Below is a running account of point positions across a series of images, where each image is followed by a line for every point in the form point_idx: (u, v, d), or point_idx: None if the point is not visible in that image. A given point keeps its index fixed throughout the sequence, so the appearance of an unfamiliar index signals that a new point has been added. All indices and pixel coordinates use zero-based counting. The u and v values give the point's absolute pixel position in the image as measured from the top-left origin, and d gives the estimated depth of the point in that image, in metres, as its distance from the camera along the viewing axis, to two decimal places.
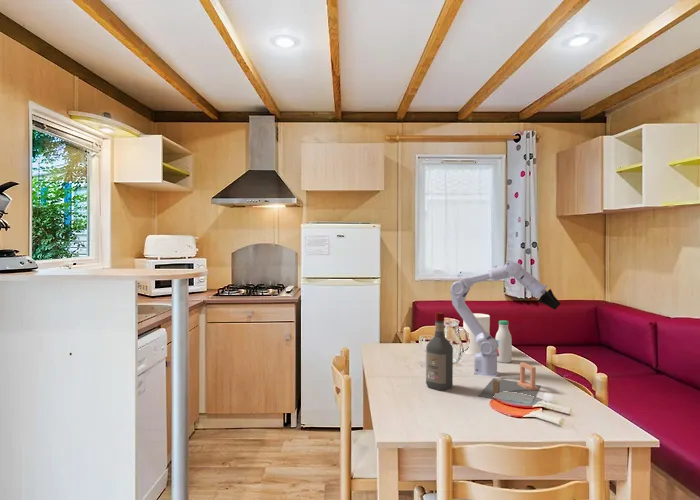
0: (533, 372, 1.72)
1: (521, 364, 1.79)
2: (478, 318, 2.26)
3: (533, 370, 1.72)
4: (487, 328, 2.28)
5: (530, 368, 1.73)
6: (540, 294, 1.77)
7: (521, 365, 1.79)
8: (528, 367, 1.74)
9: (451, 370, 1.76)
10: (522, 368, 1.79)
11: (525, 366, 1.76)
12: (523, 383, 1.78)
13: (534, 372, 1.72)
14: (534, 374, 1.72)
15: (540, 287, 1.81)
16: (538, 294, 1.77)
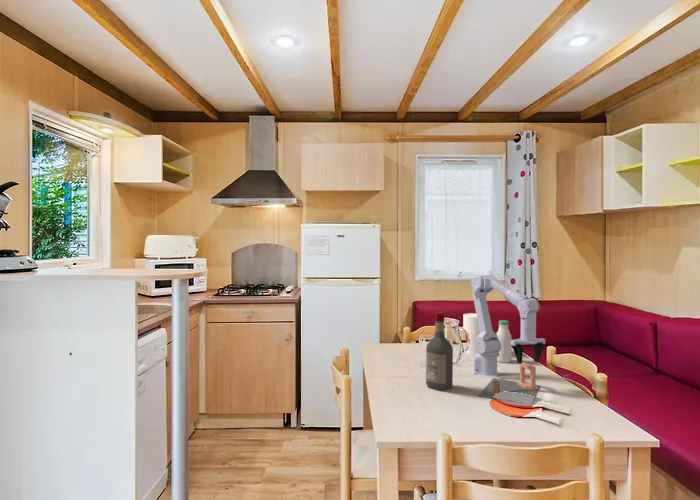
0: (533, 372, 1.72)
1: (521, 364, 1.79)
2: None
3: (533, 370, 1.72)
4: None
5: (530, 368, 1.73)
6: (512, 344, 1.74)
7: (521, 365, 1.79)
8: (528, 367, 1.74)
9: (451, 370, 1.76)
10: (522, 368, 1.79)
11: (525, 366, 1.76)
12: (523, 383, 1.78)
13: (534, 372, 1.72)
14: (534, 374, 1.72)
15: (525, 338, 1.74)
16: (512, 342, 1.74)
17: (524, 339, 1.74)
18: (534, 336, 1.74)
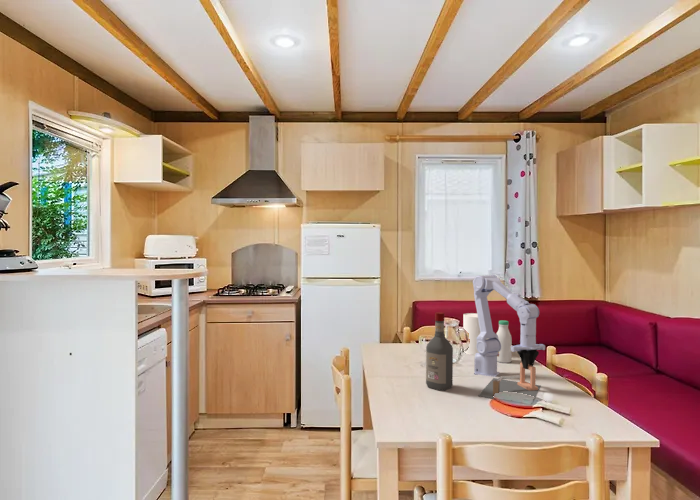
0: (533, 372, 1.72)
1: (521, 364, 1.79)
2: None
3: (533, 370, 1.72)
4: None
5: (530, 368, 1.73)
6: (512, 350, 1.74)
7: (521, 365, 1.79)
8: (528, 367, 1.74)
9: (451, 370, 1.76)
10: (522, 368, 1.79)
11: None
12: (523, 383, 1.78)
13: (534, 372, 1.72)
14: (534, 374, 1.72)
15: (525, 344, 1.74)
16: (511, 348, 1.74)
17: (524, 345, 1.74)
18: (534, 342, 1.74)
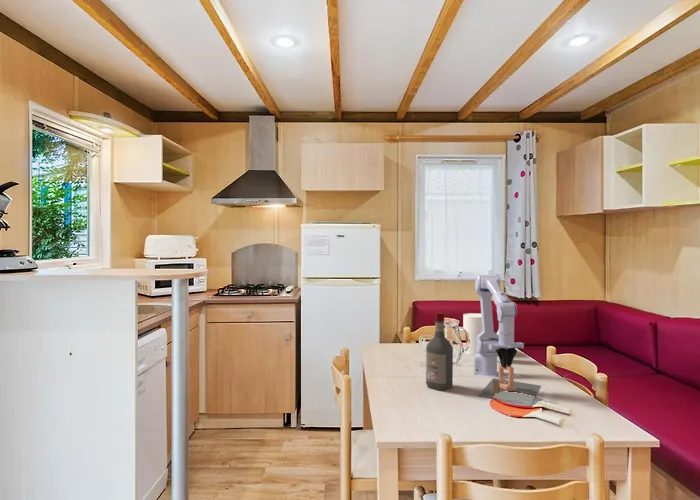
0: (511, 372, 1.70)
1: (499, 364, 1.76)
2: (478, 318, 2.26)
3: (511, 370, 1.70)
4: None
5: (508, 368, 1.71)
6: (490, 348, 1.71)
7: (499, 365, 1.76)
8: (506, 367, 1.72)
9: (451, 370, 1.76)
10: (501, 368, 1.76)
11: None
12: (501, 384, 1.75)
13: (512, 372, 1.70)
14: (512, 374, 1.70)
15: (503, 343, 1.71)
16: (489, 346, 1.72)
17: (502, 343, 1.72)
18: (512, 340, 1.71)
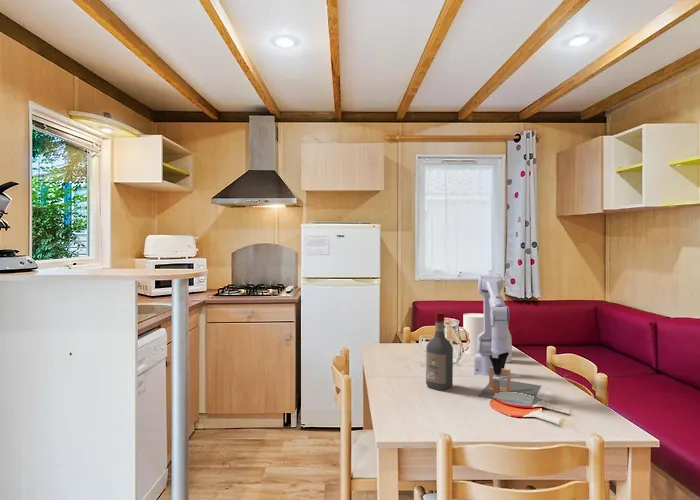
0: (509, 375, 1.69)
1: (491, 369, 1.72)
2: (478, 318, 2.26)
3: (509, 373, 1.69)
4: None
5: (506, 371, 1.69)
6: (495, 356, 1.63)
7: (491, 370, 1.72)
8: (503, 371, 1.69)
9: (451, 370, 1.76)
10: (492, 373, 1.72)
11: None
12: None
13: None
14: None
15: (502, 348, 1.67)
16: (494, 354, 1.63)
17: (501, 349, 1.67)
18: None
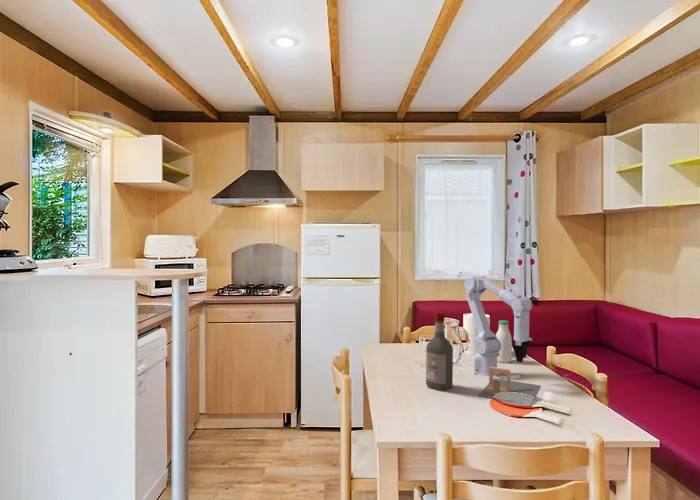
0: (509, 375, 1.69)
1: (491, 369, 1.72)
2: None
3: (509, 373, 1.69)
4: None
5: (506, 371, 1.69)
6: (519, 344, 1.74)
7: (491, 370, 1.72)
8: (503, 371, 1.69)
9: (451, 370, 1.76)
10: (492, 373, 1.72)
11: (498, 370, 1.70)
12: None
13: None
14: None
15: (524, 337, 1.77)
16: (517, 342, 1.74)
17: (523, 337, 1.77)
18: None
